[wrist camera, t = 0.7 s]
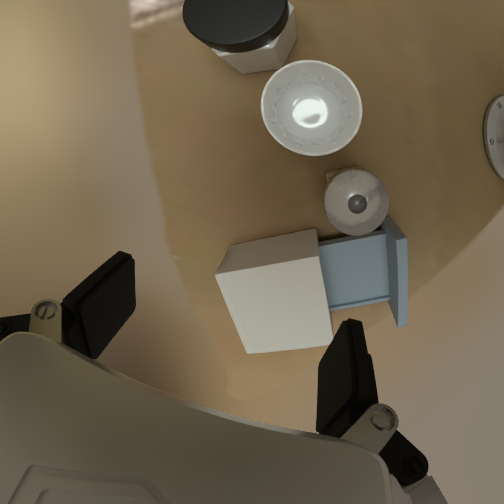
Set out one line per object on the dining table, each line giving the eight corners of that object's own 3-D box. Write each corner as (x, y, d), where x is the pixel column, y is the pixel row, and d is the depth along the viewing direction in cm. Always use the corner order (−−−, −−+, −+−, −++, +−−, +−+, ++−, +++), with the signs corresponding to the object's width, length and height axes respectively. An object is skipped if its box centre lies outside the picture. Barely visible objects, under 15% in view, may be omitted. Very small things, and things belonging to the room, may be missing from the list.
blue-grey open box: (389, 216, 30) (406, 238, 24) (394, 295, 35) (406, 325, 29) (301, 233, 33) (300, 258, 28) (318, 309, 38) (319, 342, 32)
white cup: (358, 115, 26) (382, 111, 18) (310, 160, 30) (313, 176, 21) (306, 66, 25) (308, 41, 16) (259, 113, 28) (239, 108, 20)
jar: (291, 9, 22) (283, -42, 11) (302, 68, 25) (301, 36, 15) (215, 21, 24) (173, -18, 13) (223, 78, 27) (181, 57, 16)
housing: (315, 228, 33) (318, 255, 26) (330, 307, 38) (334, 343, 31) (231, 245, 36) (214, 274, 30) (256, 317, 41) (247, 353, 34)
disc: (377, 162, 23) (383, 165, 21) (386, 221, 25) (392, 229, 23) (316, 174, 25) (317, 178, 23) (329, 232, 27) (331, 241, 25)
